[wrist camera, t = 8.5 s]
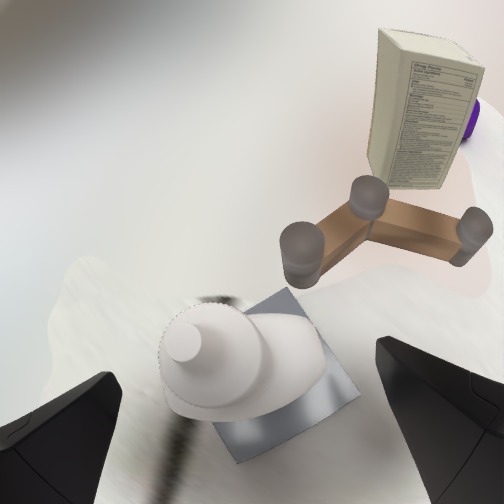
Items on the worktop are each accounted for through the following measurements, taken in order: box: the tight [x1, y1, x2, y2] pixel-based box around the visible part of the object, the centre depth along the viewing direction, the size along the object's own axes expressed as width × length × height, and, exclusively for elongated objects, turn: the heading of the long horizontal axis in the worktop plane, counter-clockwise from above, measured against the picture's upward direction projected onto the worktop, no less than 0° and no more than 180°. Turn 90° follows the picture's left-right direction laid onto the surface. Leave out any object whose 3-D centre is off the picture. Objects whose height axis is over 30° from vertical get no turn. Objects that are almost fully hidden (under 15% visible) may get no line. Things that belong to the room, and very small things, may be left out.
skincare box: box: [367, 28, 485, 189], centre depth 16 cm, size 6×4×12 cm
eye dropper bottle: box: [158, 302, 327, 422], centre depth 10 cm, size 4×6×12 cm
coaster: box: [212, 287, 361, 464], centre depth 15 cm, size 8×8×1 cm
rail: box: [280, 175, 493, 289], centre depth 16 cm, size 13×8×4 cm, turn 120°
